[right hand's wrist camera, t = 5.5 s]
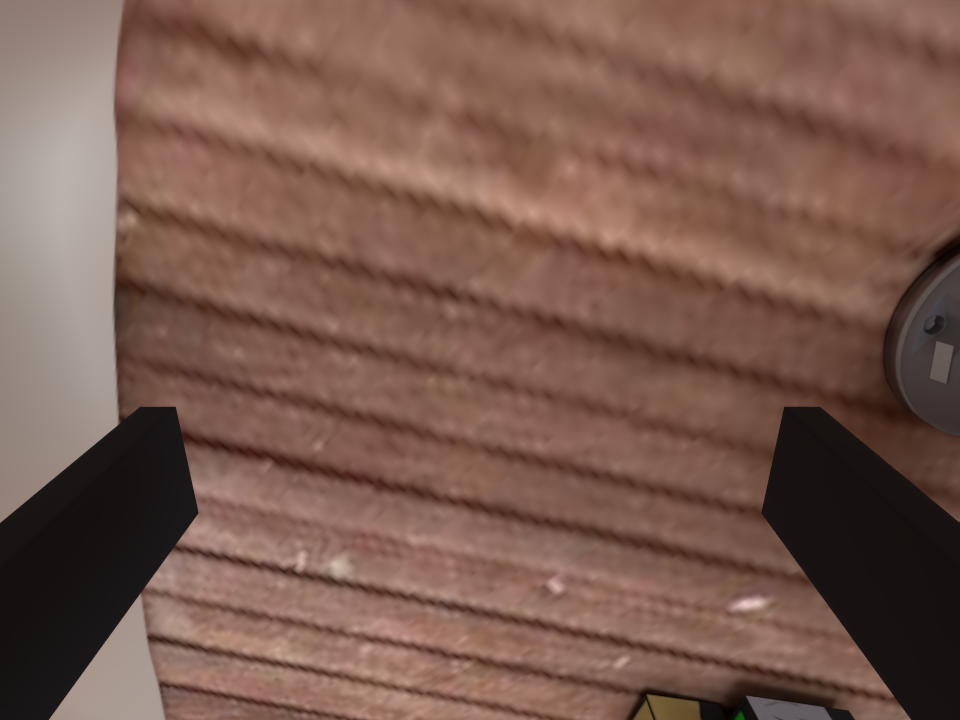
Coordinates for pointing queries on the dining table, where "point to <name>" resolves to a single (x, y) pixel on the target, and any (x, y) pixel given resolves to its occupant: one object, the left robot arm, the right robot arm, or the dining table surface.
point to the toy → (752, 716)
